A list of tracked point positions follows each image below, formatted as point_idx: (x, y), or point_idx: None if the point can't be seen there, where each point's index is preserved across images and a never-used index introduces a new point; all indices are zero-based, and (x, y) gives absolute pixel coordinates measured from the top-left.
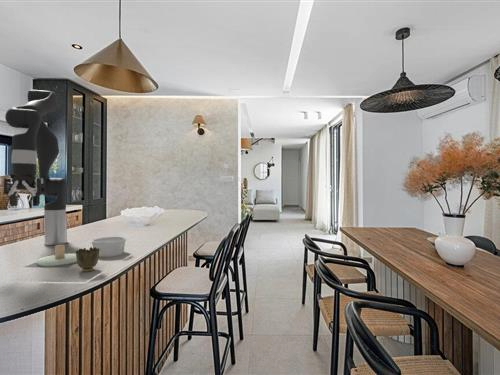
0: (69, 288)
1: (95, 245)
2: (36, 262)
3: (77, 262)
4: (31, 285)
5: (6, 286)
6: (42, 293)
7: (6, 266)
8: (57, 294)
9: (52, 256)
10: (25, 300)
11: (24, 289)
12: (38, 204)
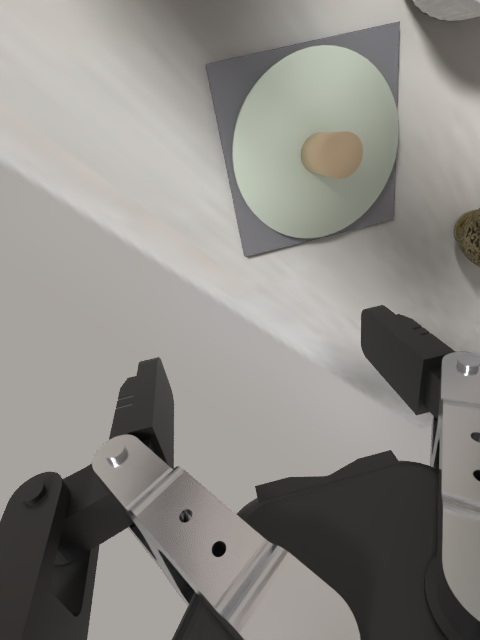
0: (473, 337)
1: (467, 9)
2: (235, 196)
3: (470, 260)
4: None
5: (333, 370)
6: None
7: (156, 253)
8: None
9: (262, 132)
10: None
11: None
12: (385, 310)
